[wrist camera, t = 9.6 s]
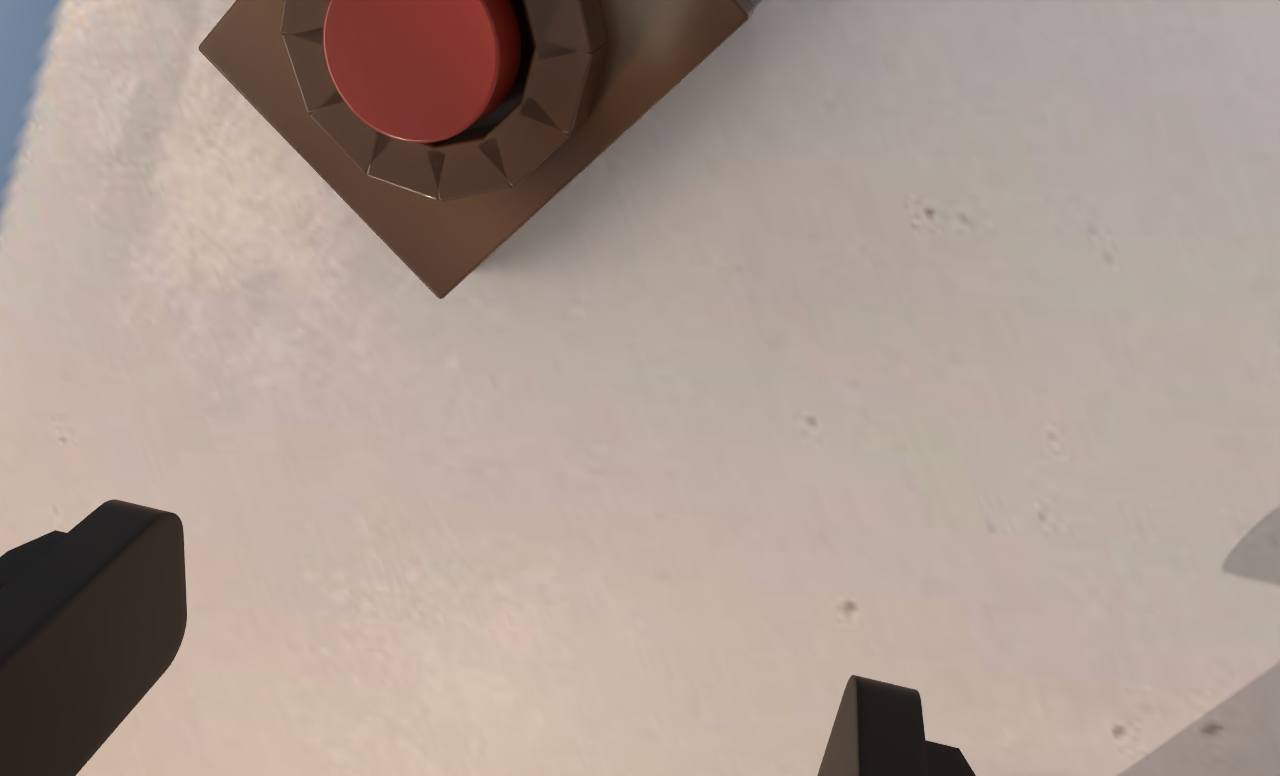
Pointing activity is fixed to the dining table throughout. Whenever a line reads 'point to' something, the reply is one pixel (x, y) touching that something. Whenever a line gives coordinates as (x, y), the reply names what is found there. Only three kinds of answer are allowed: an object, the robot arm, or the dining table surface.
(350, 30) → the button
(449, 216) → the button block
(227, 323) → the dining table surface
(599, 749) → the dining table surface
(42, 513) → the dining table surface
